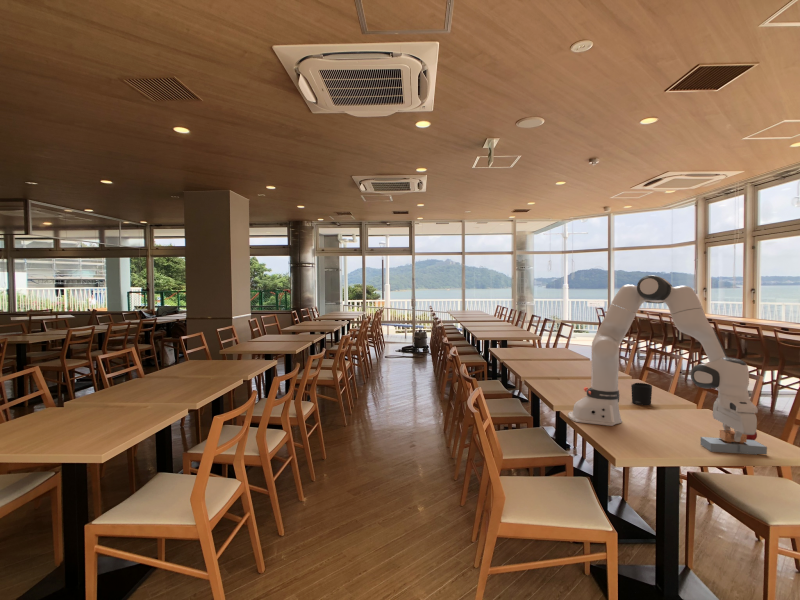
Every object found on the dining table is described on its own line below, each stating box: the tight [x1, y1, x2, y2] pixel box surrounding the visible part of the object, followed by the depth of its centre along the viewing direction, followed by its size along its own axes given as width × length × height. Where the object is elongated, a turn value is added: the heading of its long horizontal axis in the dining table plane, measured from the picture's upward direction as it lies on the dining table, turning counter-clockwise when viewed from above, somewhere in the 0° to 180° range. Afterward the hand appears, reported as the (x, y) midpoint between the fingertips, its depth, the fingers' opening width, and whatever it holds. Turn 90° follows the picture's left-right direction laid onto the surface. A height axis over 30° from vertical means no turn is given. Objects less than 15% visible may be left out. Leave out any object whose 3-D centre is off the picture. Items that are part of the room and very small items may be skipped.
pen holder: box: [631, 382, 653, 406], centre depth 217 cm, size 9×9×10 cm
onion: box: [747, 431, 758, 441], centre depth 160 cm, size 6×6×8 cm
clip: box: [719, 429, 747, 444], centre depth 153 cm, size 7×4×6 cm, turn 79°
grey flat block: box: [700, 436, 768, 455], centre depth 153 cm, size 18×7×3 cm, turn 79°
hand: (732, 438), depth 153 cm, fingers closed on clip, 3 cm apart
